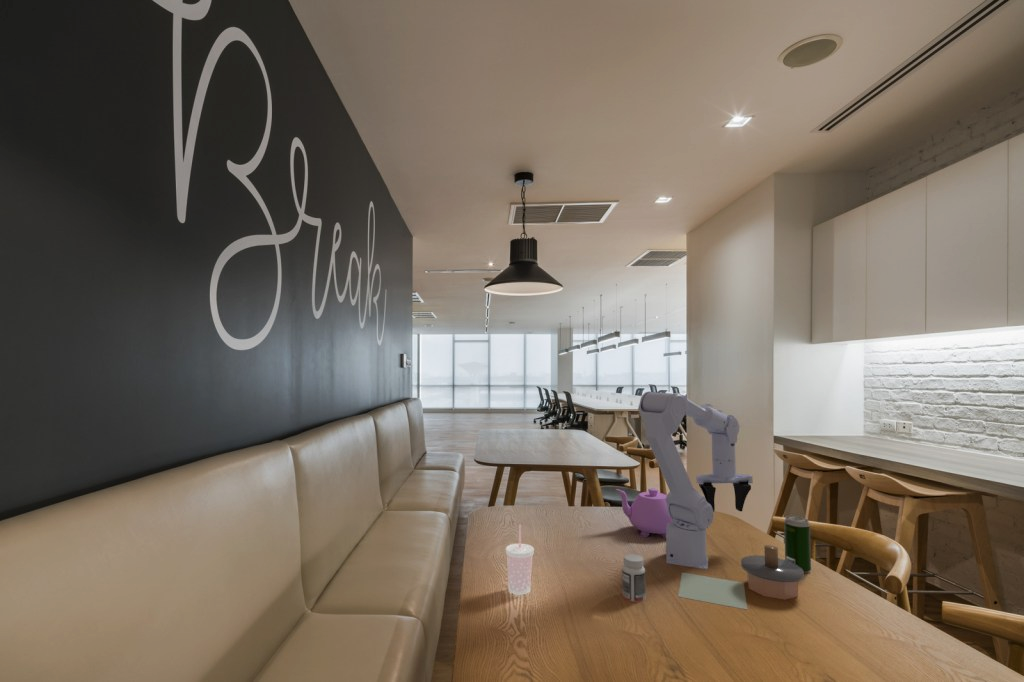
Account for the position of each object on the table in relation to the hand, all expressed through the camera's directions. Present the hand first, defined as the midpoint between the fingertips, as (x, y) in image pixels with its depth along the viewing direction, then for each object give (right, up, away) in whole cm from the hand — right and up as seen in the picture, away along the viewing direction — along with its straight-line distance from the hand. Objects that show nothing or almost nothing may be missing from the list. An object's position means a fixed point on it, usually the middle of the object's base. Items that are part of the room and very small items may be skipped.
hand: (725, 510), depth 127 cm
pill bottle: (-32, -9, -28) cm, 43 cm away
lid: (-1, -5, -24) cm, 24 cm away
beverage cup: (-55, -9, -25) cm, 62 cm away
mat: (-14, -9, -24) cm, 29 cm away
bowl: (0, -9, -24) cm, 25 cm away
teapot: (-16, -11, +13) cm, 24 cm away
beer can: (+12, -10, -13) cm, 20 cm away
